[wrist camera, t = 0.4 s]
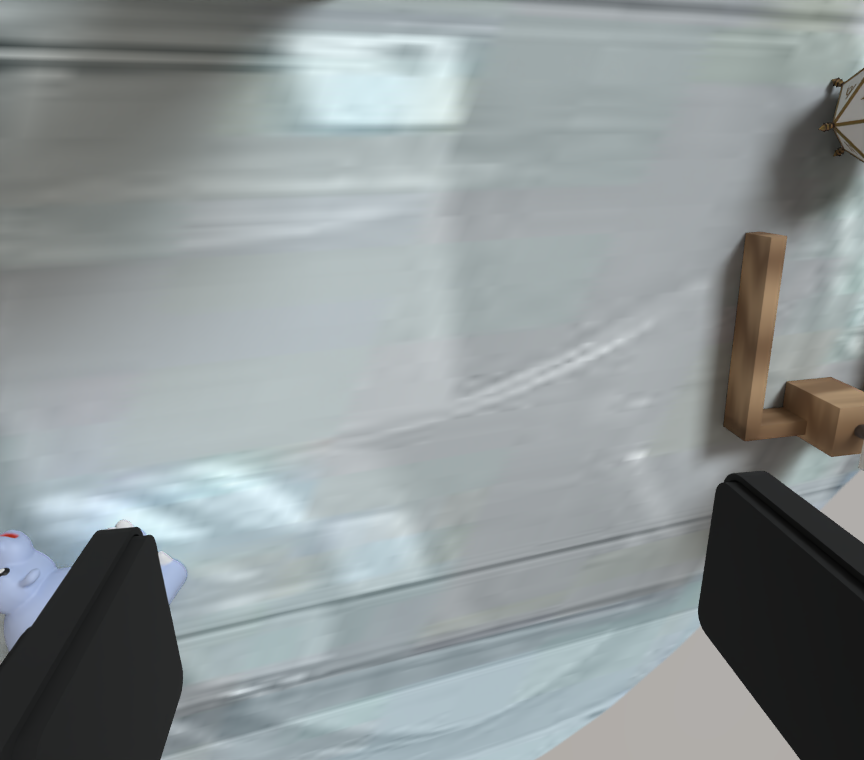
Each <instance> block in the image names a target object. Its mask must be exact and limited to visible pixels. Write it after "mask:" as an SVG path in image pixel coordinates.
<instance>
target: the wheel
mask: <svg viewBox="0 0 864 760" xmlns="http://www.w3.org/2000/svg"><path fill="white" fill-rule="evenodd" d="M858 468H860V469H861V470H863V471H864V442H863V447H862V452H861V457H860V462H859V467H858Z"/></svg>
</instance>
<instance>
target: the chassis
mask: <svg viewBox="0 0 864 760" xmlns="http://www.w3.org/2000/svg"><path fill="white" fill-rule="evenodd" d="M786 241H787V236H783V235H777V234H771V233H765V232H751V233H746V237H745V245H744V254H743V262H742V271H741V279H740V288H739V296H738V305H737V313H736V322H735V330H734V339H733V347H732V356H731V364H730V373H729V381H728V390H727V398H726V407H725V415H724V424H723V426H724V427H725V428H727V429H728V430H729V431H731V432H732V433H734V434H735V435H736V436H738V437H739V438H741V439H742V440H744V441H752V440H761V439H770V438H779V437H788V436H798V437H800V438H801V439H803V440H805V441H806V442H808V443H810V444H811V445H813V446H814V447H816V448H818V449H819V450H821V451H823V452H824V453H826V454H828V455H829V456H831V457H834V456H843V455H852V454H861V452H862V447H863V442H864V392H863V391H861V390H859V389H857V388H854V387H852V386H850V385H848V384H845V383H843V382H841V381H839V380H836V379H834V378H832V377H827V378H817V379H807V380H797V381H787V382H786V389H785V395H784V402H783V407H778V408H769V409H763V405H764V398H765V391H766V384H767V377H768V370H769V363H770V356H771V348H772V341H773V334H774V327H775V320H776V313H777V306H778V299H779V291H780V284H781V277H782V270H783V263H784V256H785V249H786Z"/></svg>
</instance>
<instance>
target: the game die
mask: <svg viewBox="0 0 864 760" xmlns="http://www.w3.org/2000/svg"><path fill="white" fill-rule="evenodd" d="M832 82H833V86H836V87H841V90H840V94H839V98H838V102H837V106H836V110H835V114H834V118H833V122H832V123H827V124H825V123H823V125H822V126H821V127H820V128H819V130H821V131H823V132H825V131H829V130H830V129H831V128H833V130H834V132H835V134H836V136H837V138H838V140H839V142H840V144H841V146H842V148H841V147H840V148H838V149H837V150H835V153H834V156H841V154H843V153H844V151H847V152H848V153H850V154H851V155H853V156H854V157H856V158H858V159H859V160H861V161H862V162H864V68H863V69H862V70H860V71H859V72H858V73H856V74H855V75H854V76H852V77H851V78H850V79H848V80H847V81H846V82H843V80H842V79H840V78H839V77H838V78H837V79H832Z"/></svg>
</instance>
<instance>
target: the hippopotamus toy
mask: <svg viewBox="0 0 864 760" xmlns="http://www.w3.org/2000/svg"><path fill="white" fill-rule="evenodd" d="M129 527H134V526H133V524H132V523H131V522H129V521H127V520H121V521H119V522H118V523H117V525H116V527H110V528H108V529H117V528H129ZM141 531H142V530H141ZM142 533H143V536H144V535H146V534H145V533H144V532H143V531H142ZM158 555H159V560H160V565H161V569H162V574H163V579H164V584H165V588H166V593H167V598H168V603H169V605H170V603H171V602H172V600H173V599H174V597H175V596H176V594H177V593H178V591H179V590H180V589H181V587H182V586H183V584H184V583H185V581H186V578H187V570H186V568H185V567H184V566H183V565H182V564H181V563H180V562H179V561H176V560H174V559H172V558H171V557H170V556H169V555H167V554H166V553H165V552H163V551H159V552H158ZM70 569H71V567H67V568H61V569H58V568H57V567H56V565H55V563H54V562H53V561H52V560H51V559H50V558H49V557H48V556H47V555H45V554H44V553H42V552H40V551H37V550H35V549H34V547H33V544H32V542H31V540H30V538H29V537H28V536H27V535H26V534H24V533H23V532H20V531H17V530H8V531H5V532H3V533H2V534H0V613H2V614H6V615H5V620H4V637H5V642H6V645H7V648H8V650H9V652H10V650H11V649H12V647H13V646H14V645H15V643H16V642H17V640H18V639H19V637H20V636H21V635H22V634H23V633H24V632H25V630H26V629H27V628H29V627H31V626H32V625H33V623H34V622H35V620H36V619H37V617H38V616H39V614H40V613H41V611H42V610H43V608H44V607H45V605H46V604H47V602H48V601H49V600H50V598H51V597H52V595H53V594H54V592H55V591H56V589H57V588H58V586H59V585H60V583H61V582H62V580H63V579H64V578H65V576H66V575H67V573H68V572H69V570H70Z"/></svg>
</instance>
